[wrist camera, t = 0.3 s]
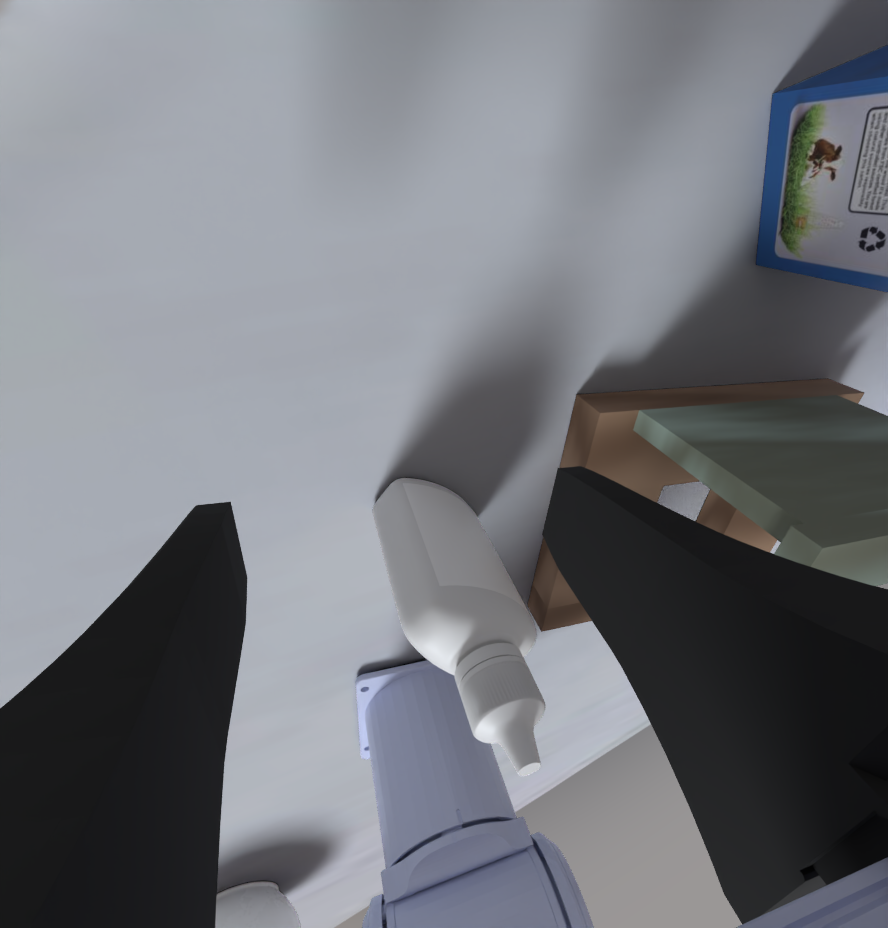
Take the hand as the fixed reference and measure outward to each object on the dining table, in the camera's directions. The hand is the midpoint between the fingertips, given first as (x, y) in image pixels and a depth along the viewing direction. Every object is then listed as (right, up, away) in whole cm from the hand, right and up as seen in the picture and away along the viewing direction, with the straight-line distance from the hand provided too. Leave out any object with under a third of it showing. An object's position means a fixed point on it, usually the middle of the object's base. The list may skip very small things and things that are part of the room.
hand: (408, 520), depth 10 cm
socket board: (+14, -1, +17) cm, 22 cm away
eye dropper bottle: (0, -1, +13) cm, 13 cm away
